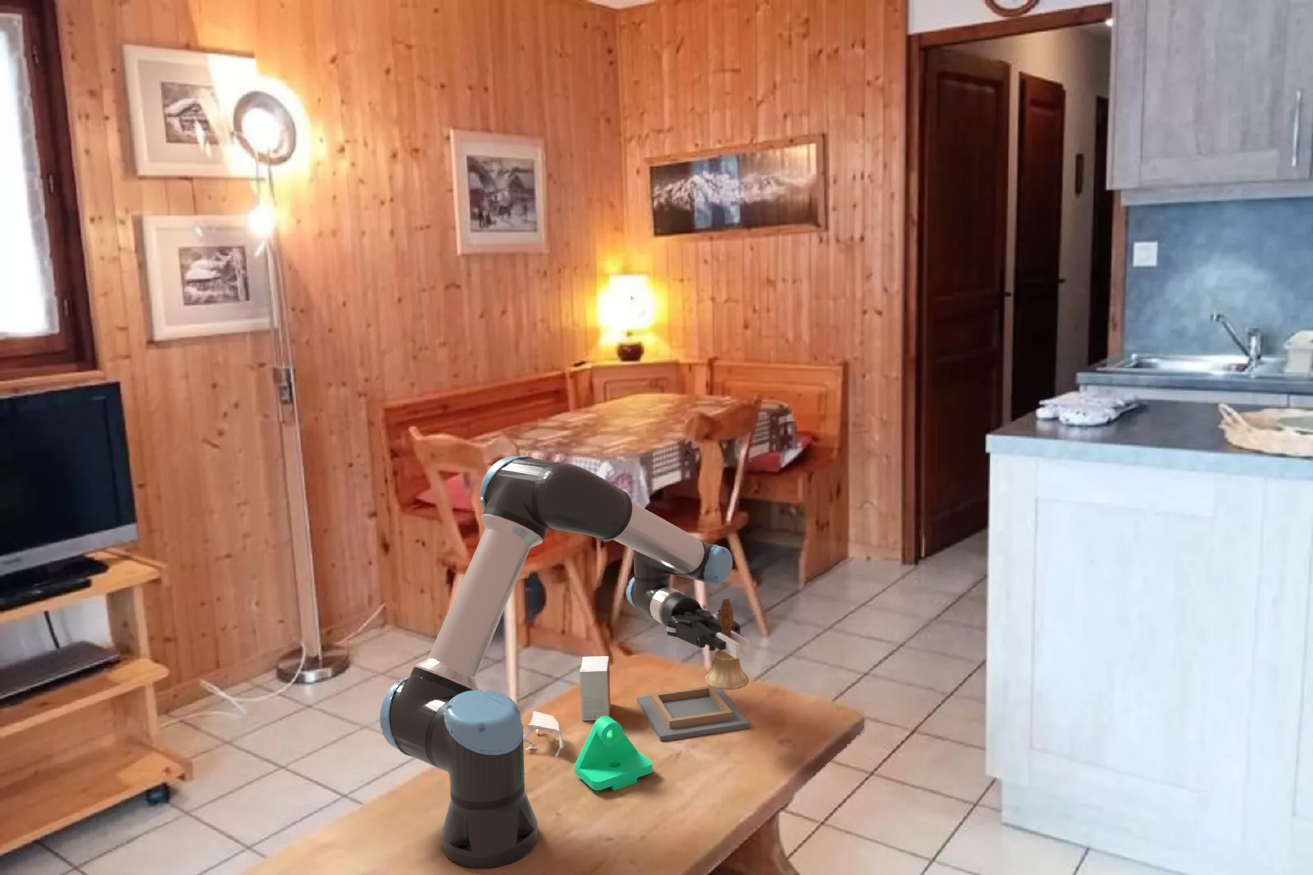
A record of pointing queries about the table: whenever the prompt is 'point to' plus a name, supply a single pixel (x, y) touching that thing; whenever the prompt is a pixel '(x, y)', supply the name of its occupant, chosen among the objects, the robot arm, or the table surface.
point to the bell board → (691, 713)
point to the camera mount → (610, 757)
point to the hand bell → (726, 658)
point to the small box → (595, 687)
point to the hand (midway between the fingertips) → (743, 649)
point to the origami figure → (543, 728)
